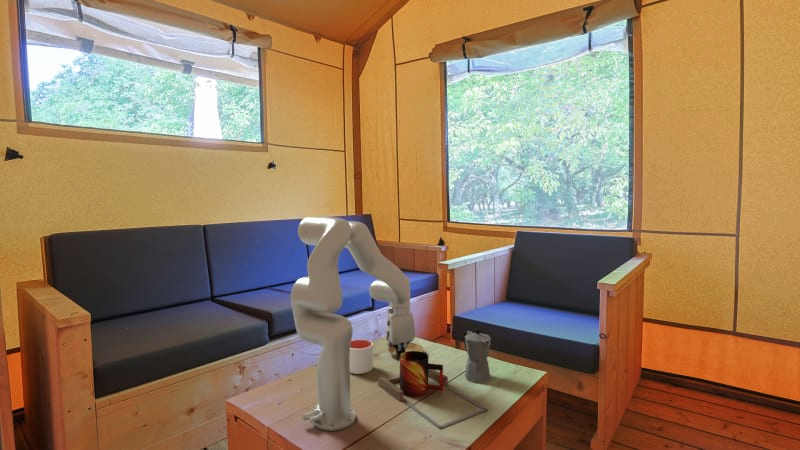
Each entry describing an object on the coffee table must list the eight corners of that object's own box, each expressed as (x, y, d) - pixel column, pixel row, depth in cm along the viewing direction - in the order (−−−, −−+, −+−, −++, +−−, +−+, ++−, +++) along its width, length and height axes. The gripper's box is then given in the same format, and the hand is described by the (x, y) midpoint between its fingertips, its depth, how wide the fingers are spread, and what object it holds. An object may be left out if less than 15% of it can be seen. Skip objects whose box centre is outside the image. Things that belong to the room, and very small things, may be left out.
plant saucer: (430, 356, 175) (430, 349, 175) (402, 364, 167) (402, 358, 166) (408, 345, 187) (408, 339, 187) (380, 353, 178) (380, 347, 178)
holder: (399, 401, 137) (399, 392, 137) (378, 385, 148) (378, 377, 148) (447, 385, 148) (447, 377, 148) (424, 371, 159) (424, 364, 159)
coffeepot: (499, 382, 150) (500, 332, 149) (477, 387, 146) (478, 336, 145) (473, 366, 164) (473, 320, 163) (453, 371, 160) (453, 324, 159)
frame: (439, 429, 121) (439, 428, 121) (405, 404, 135) (405, 403, 135) (487, 410, 131) (487, 409, 131) (451, 388, 146) (451, 387, 146)
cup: (378, 368, 163) (378, 342, 162) (362, 377, 155) (362, 351, 154) (357, 362, 169) (357, 337, 168) (341, 371, 160) (340, 345, 159)
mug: (443, 394, 141) (443, 359, 141) (402, 398, 139) (402, 363, 138) (436, 382, 151) (436, 349, 150) (397, 385, 148) (397, 352, 147)
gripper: (387, 316, 146) (388, 368, 148) (422, 308, 154) (423, 357, 156) (376, 311, 152) (377, 361, 154) (410, 304, 160) (411, 351, 162)
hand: (400, 359), depth 155 cm, fingers closed
